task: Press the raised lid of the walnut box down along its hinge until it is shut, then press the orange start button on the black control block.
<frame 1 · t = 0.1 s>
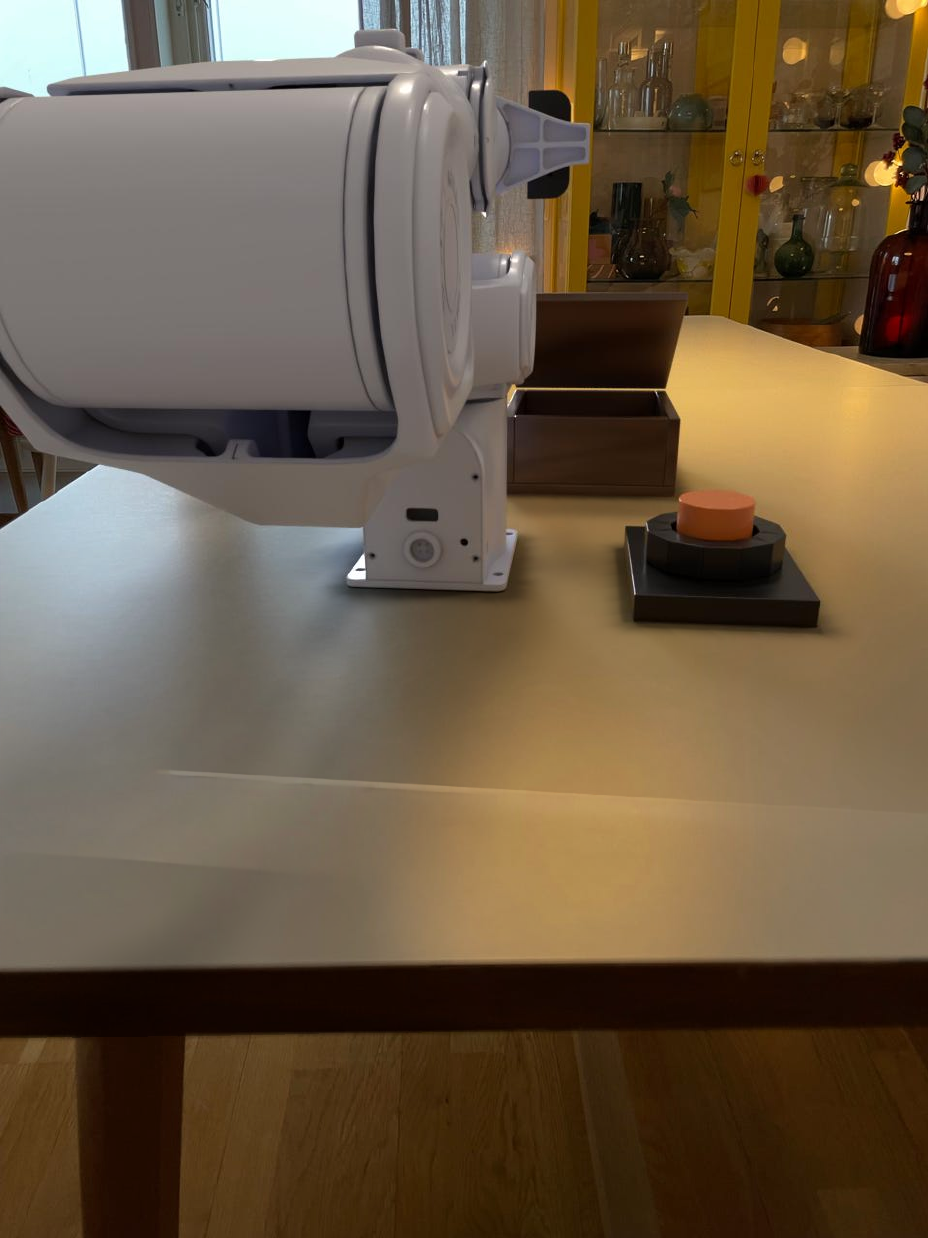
hand: (477, 148, 61), 22 cm above the table, tool horizontal, fingers open, 7 cm apart
box: (587, 475, 69), on the table
control block: (708, 585, 47), on the table
seashell: (388, 434, 85), on the table
start button: (715, 516, 45), point 4 cm above the table, slide at 0.2 cm
lid: (592, 345, 66), point 9 cm above the table, hinge at 32.0°
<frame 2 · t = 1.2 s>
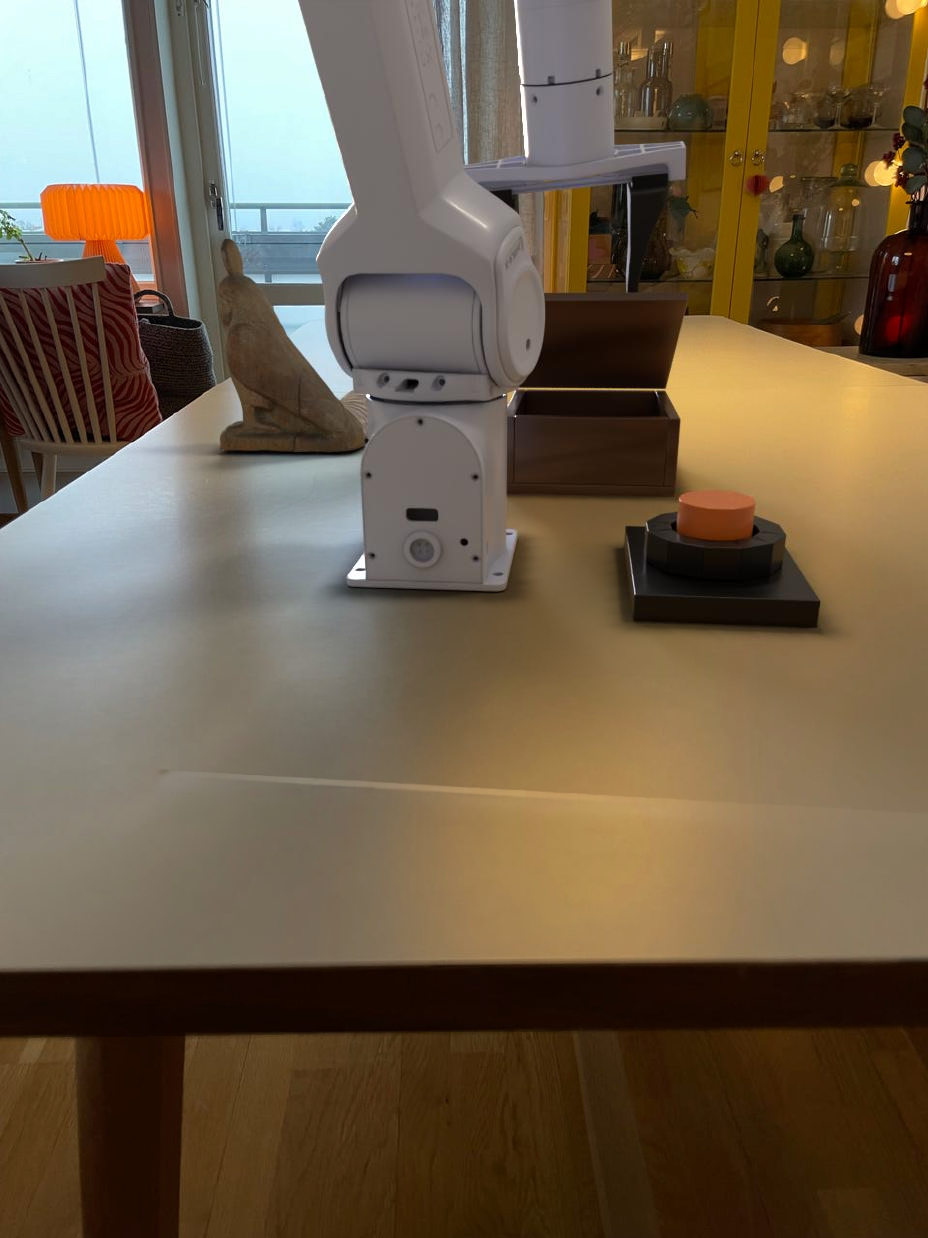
hand: (576, 299, 66), 12 cm above the table, tool tilted 15°, fingers open, 7 cm apart
nothing on the table moved.
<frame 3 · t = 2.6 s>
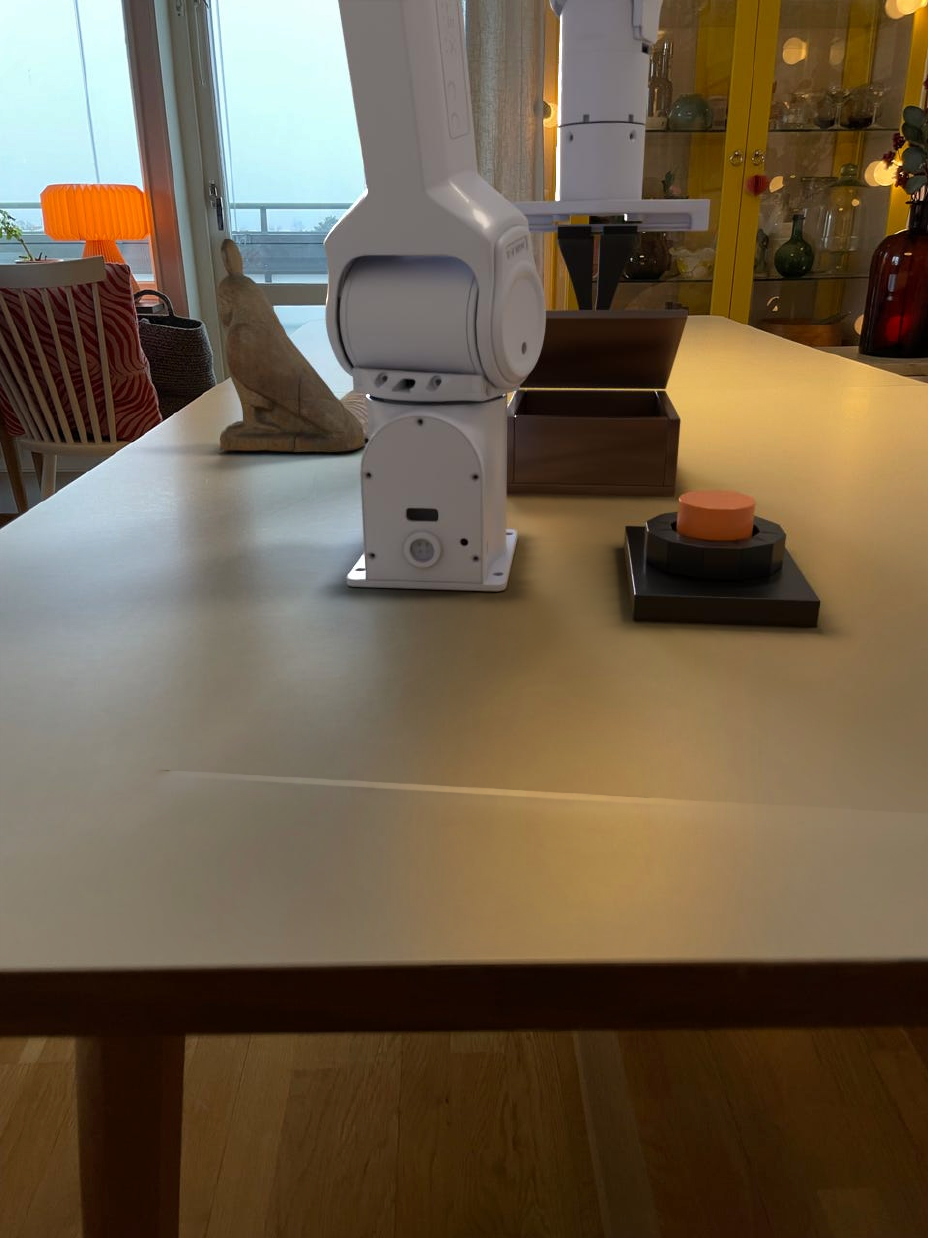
hand: (592, 343, 66), 9 cm above the table, tool pointing down, fingers closed, pressing on lid
lid: (592, 353, 66), point 9 cm above the table, hinge at 26.9°, touching gripper
everything else where it was.
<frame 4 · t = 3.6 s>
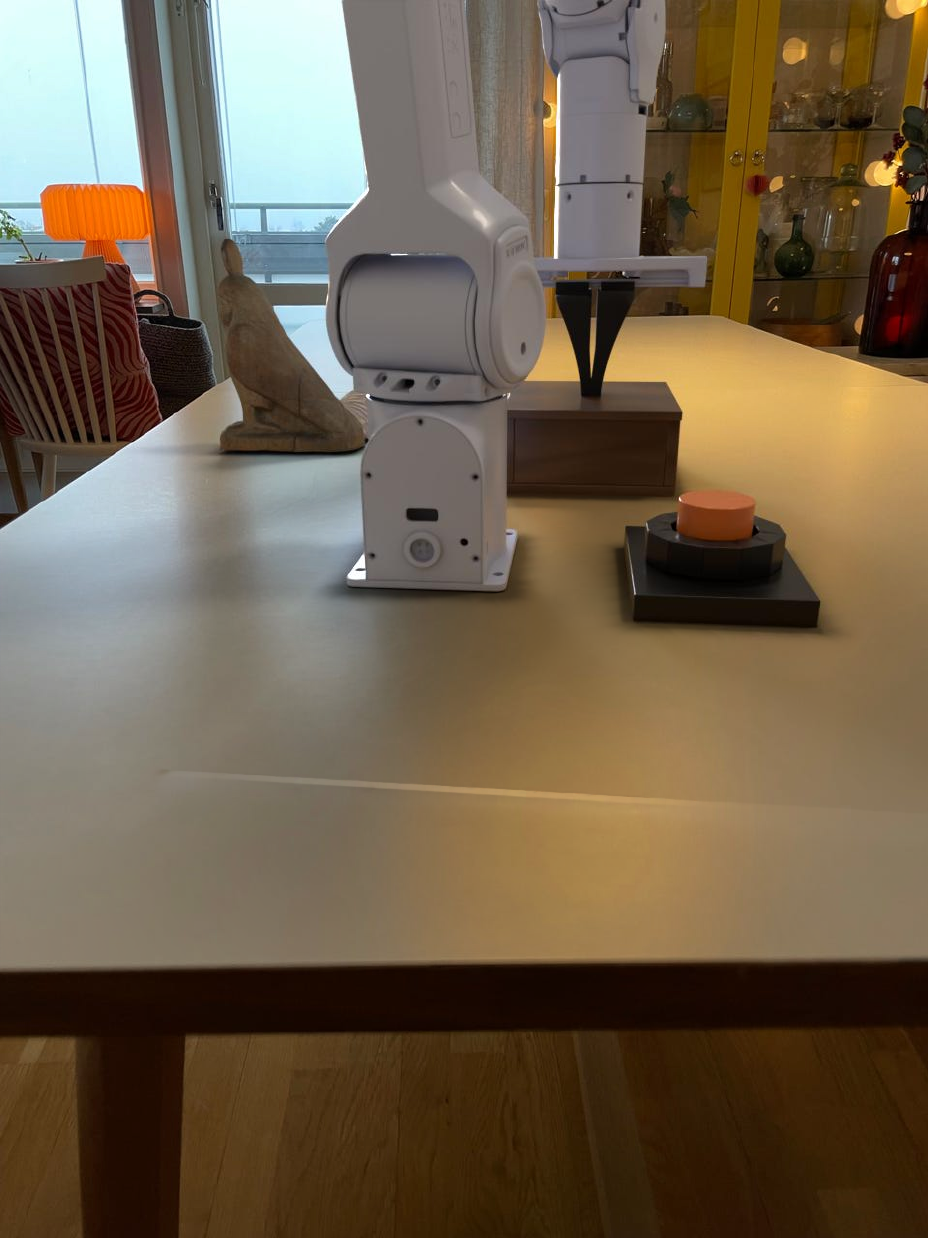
hand: (590, 395, 67), 6 cm above the table, tool pointing down, fingers closed, pressing on lid
lid: (590, 398, 67), point 6 cm above the table, hinge at -0.2°, touching box, gripper
everything else where it was.
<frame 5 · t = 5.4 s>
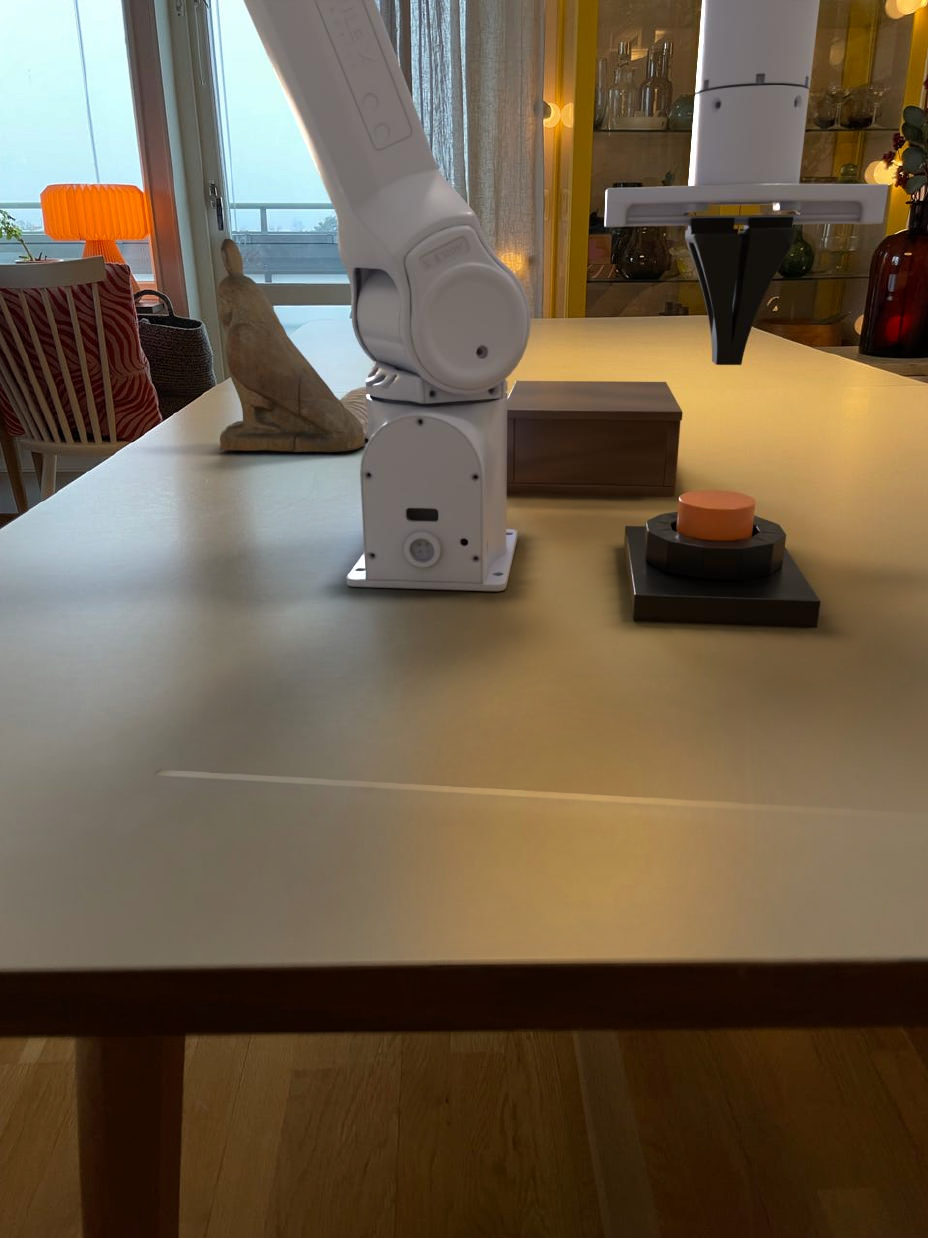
hand: (726, 363, 54), 9 cm above the table, tool pointing down, fingers closed
lid: (590, 398, 67), point 6 cm above the table, hinge at -0.2°, touching box
everything else where it was.
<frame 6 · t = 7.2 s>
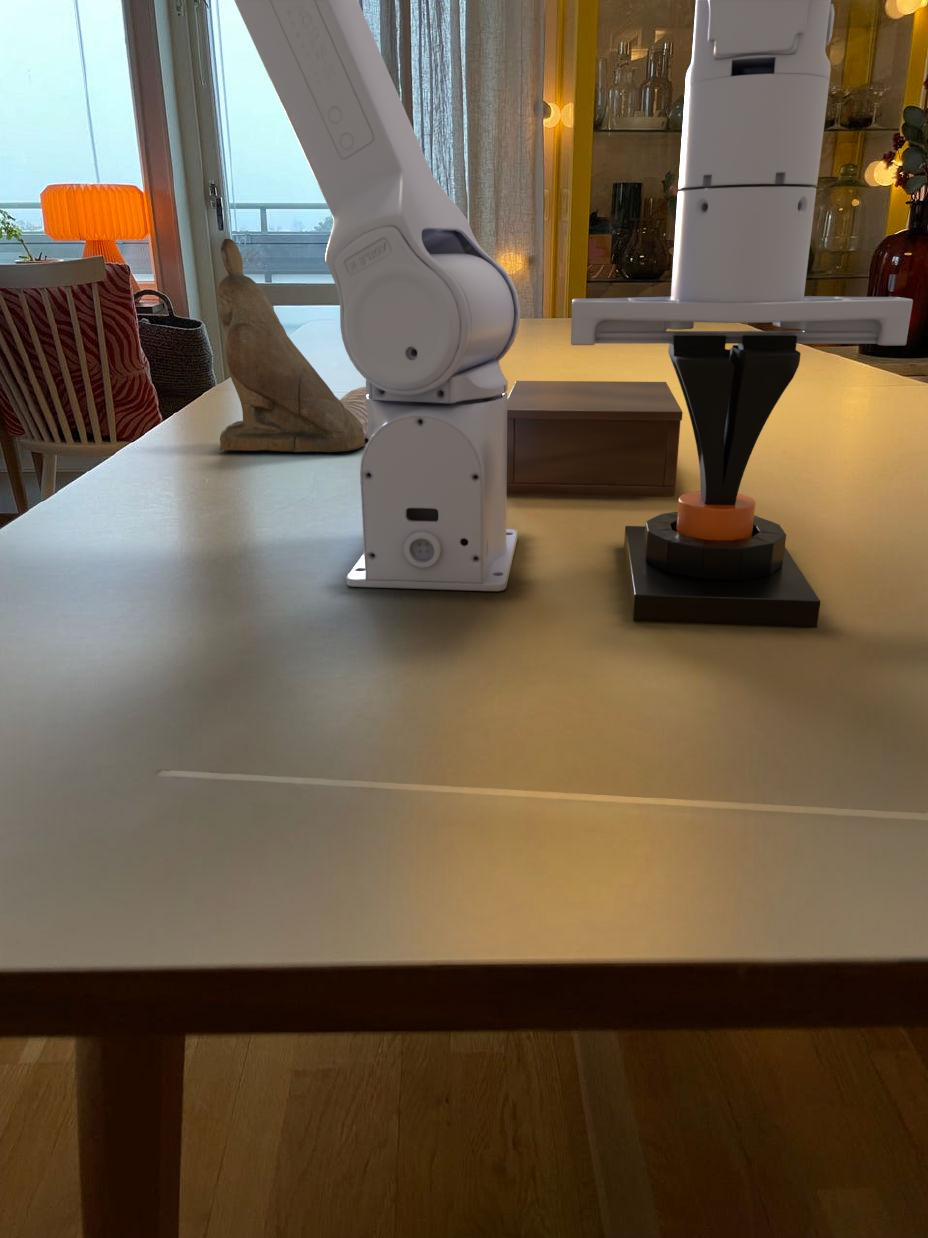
hand: (717, 500, 45), 4 cm above the table, tool pointing down, fingers closed, pressing on start button
start button: (715, 516, 45), point 4 cm above the table, slide at 0.1 cm, touching gripper
everything else where it was.
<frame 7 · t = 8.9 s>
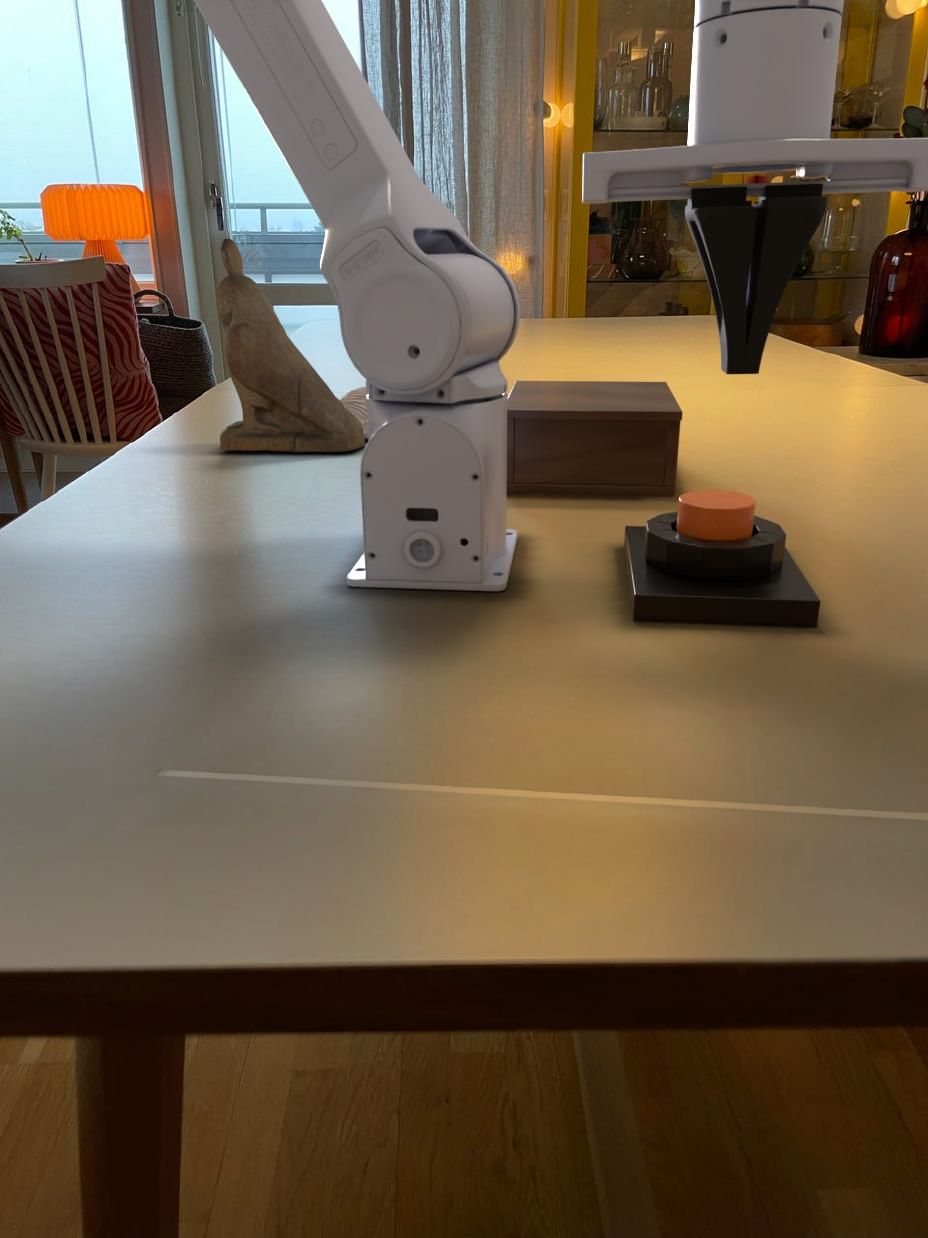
hand: (739, 371, 43), 10 cm above the table, tool pointing down, fingers closed
start button: (715, 516, 45), point 4 cm above the table, slide at 0.2 cm
everything else where it was.
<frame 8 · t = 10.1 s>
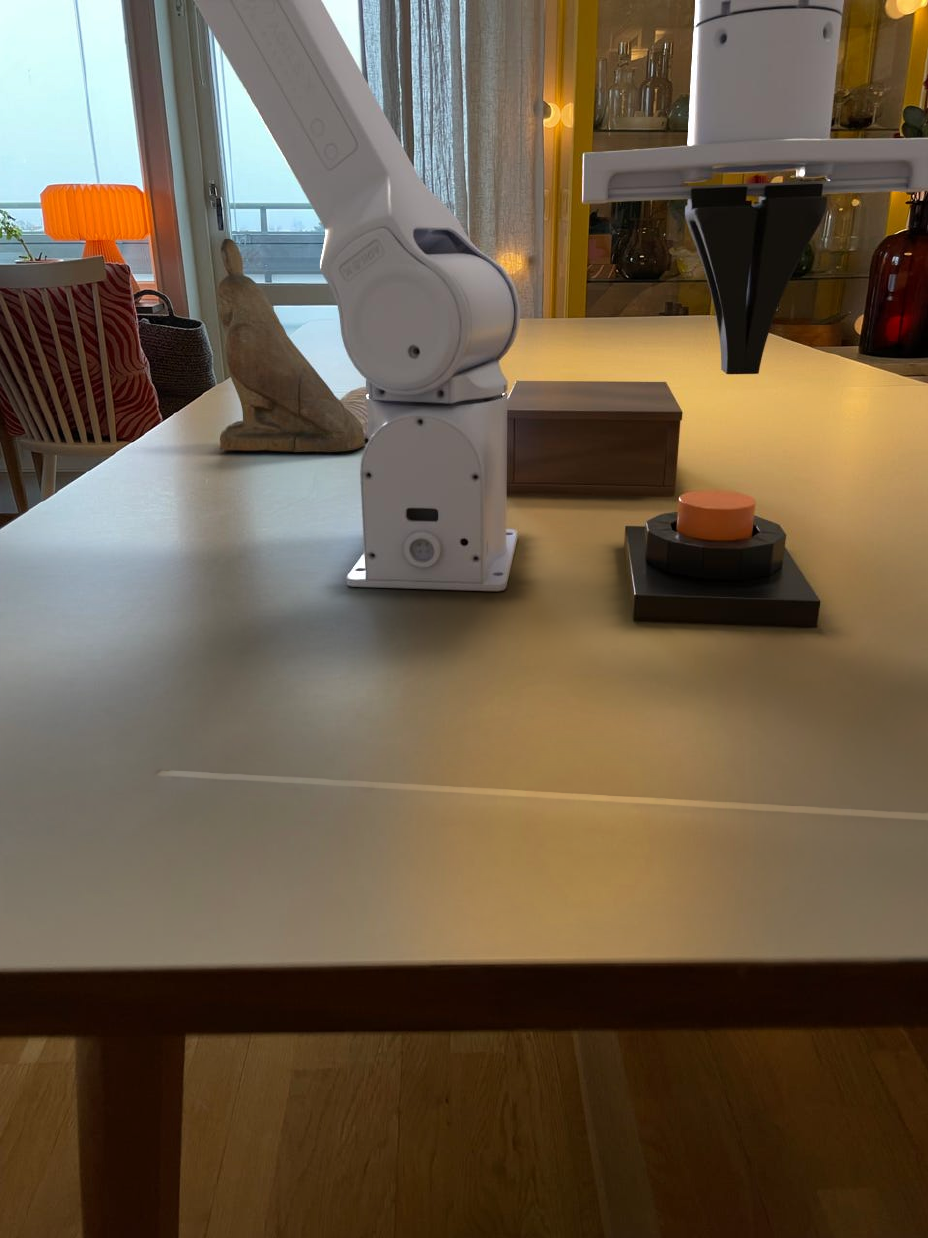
hand: (739, 371, 43), 10 cm above the table, tool pointing down, fingers closed
nothing on the table moved.
at the end: lid at +0° (first picture: +32°); start button pushed in 1.0 cm at the most during the clip, back to 0.2 cm at the end; start button slide at 0.2 cm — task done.
